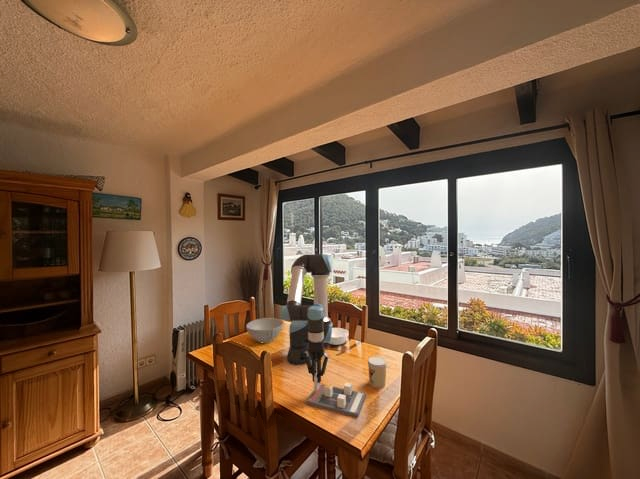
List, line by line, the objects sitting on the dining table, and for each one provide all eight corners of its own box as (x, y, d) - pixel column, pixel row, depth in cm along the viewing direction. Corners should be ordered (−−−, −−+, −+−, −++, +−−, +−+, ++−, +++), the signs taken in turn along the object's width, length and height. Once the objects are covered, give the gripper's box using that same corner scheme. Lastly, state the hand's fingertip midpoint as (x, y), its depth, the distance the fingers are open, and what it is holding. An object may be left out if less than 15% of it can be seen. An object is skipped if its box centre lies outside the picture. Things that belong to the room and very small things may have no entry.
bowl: (353, 340, 188) (352, 330, 188) (341, 350, 173) (341, 339, 173) (331, 335, 198) (331, 326, 198) (318, 344, 183) (317, 334, 183)
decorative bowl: (280, 347, 179) (280, 330, 178) (241, 348, 179) (241, 330, 179) (286, 332, 205) (285, 317, 205) (252, 333, 206) (251, 318, 206)
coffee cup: (366, 379, 138) (365, 357, 137) (383, 378, 139) (383, 356, 138) (371, 390, 128) (370, 365, 128) (389, 388, 129) (389, 364, 129)
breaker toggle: (324, 396, 122) (324, 386, 122) (326, 392, 124) (326, 383, 124) (330, 397, 120) (330, 388, 120) (332, 393, 123) (332, 384, 123)
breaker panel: (306, 404, 119) (306, 392, 119) (319, 386, 132) (319, 375, 132) (358, 417, 109) (357, 404, 109) (366, 396, 123) (365, 385, 123)
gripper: (300, 340, 123) (301, 390, 124) (325, 344, 118) (326, 396, 119) (307, 334, 130) (308, 381, 131) (331, 338, 125) (332, 387, 126)
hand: (316, 388), depth 125 cm, fingers closed
